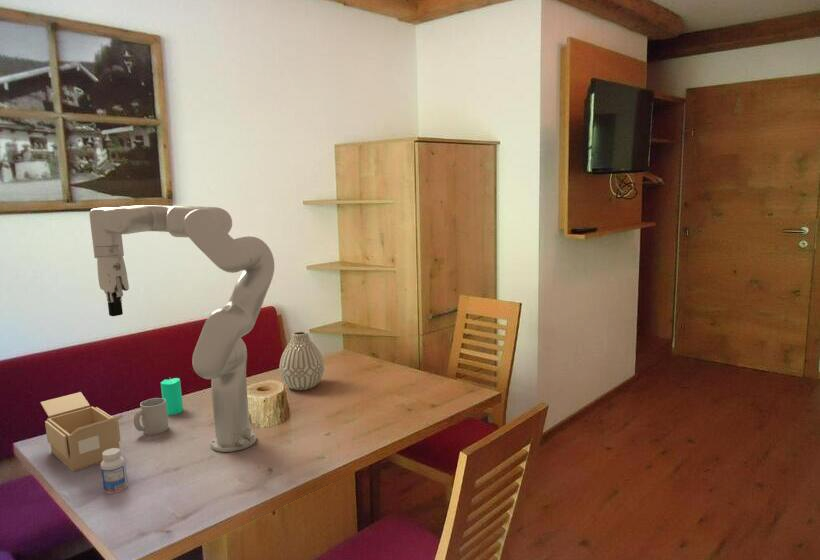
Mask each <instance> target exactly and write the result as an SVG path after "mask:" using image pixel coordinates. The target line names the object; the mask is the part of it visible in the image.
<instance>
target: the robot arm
mask: <svg viewBox="0 0 820 560" xmlns="http://www.w3.org/2000/svg"><path fill="white" fill-rule="evenodd" d="M89 222H90V231H91V238H92V239H91V240H92V246H93V247H92V248H93V255H94V259H97V262H96V263H97V264H96V265H97V277H98V278H97V279H98V284H99V285H98V286H99V289H100V290H102V291H103V292H104V294H105V295H106V296H105V297H106V301H107V308H108V315H109V316H110V317H117V316H122V315H123V313H124V312H123V303H122V300H123V299H122V297H123V296H124V293H123V291H125V292H126V291H128V290H129V289H130V285H129V280H128V279H129V278H128V273H127V267H126V262H125V260H124V256H125V253H124V252H125V251H124V245H123V235H130V234H136V233H143V232H162V233H164V232H165V233H169V235H171V236H172V237H174V238H189V239H190V240H191V242H192V243H193V244H194V245H195V246H196V247H197V248H198V249H199V250H200V251H201V252H202V253H203V254H204V255H205V256H206V257H207V258H208V259H209V261H211V262H212V263H213V264H214V265H215V266H216V267H218V268H219V269H220V270H222V271H224V272H226V273H232V274H234V273H239V272H241V271H242V272H241V275H240V276H239V278H238V280H237V281H236V283H235V285H234V288H233V291H232V293H231V296H230V298H229V300H228V302H227V303H226V304H225V305H224V306H221V307H219V308H216V309H215V310H214V311H213V312H211V313H210V314H209V315H208V317H206V318H207V319H206V320H205V322H204V324H203V326H202V329H201V332H200V335H199V338H198V340H197V342H196V345H195V347H194V350H193V353H192V358H191V361H192V368H193V371H194V372H195V373H196V375H197V376H199V377H200V378H203V379H205V380H211V382H210V385H211V388H210V389H211V398H212V399H211V400H212V410H213V411H212V412H213V413H212V414H213V421H214V424H213V425H214V434H215V436H214V437H213V438H211V440H210V448H211V449H212V450H214V451H216V452H221V453H222V452H223V453H230V452H238V451H241V450H244V449H247V448H249V447H251V446H253V445H254V444H255V443H256V442H257V434H256V433H255V432H253V431H251V427H250V426H251V424H250V423H251V422H250V412H249V402H248V401H249V400H248V398H249V397H248V386H247V363H248V362H247V361H248V352H247V351H248V349H247V345H246V343H245V342H244V340H243V338H242V337H245V336H246V335H247V334H249V333H250V332H251V331H252V330H253V328H254V327H255V324H256V321H257V319H258V316H259V314H260V312H261V309H262V306H263V304H264V301H265V298H266V295H267V293H268V290H269V288H270V286H271V283H272V280H273V278H274V274H275V259H274V255H273V252H272V251H271V248H270V247H269V246H268V244H267V243H266V242H265V241H264V240H262V239H260V238H259V237H256V236H250V235H249V236H241V237H237V238H233V237H232V236H231V235H230V234H229V233H230V231H231V230H232V227H233V218H232V216H231V214H230V213H229V212H228V211H227V210H226V209H224V208H221V207H217V206H191V205H190V206H189V205H187V206H186V205H185V206H184V205H146V204H145V205H144V204H142V205H141V204H140V205H129V206H128V205H127V206H119V207H97V208H96V207H95V208H92V209H90V211H89Z"/></svg>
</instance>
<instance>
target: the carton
mask: <svg viewBox="0 0 820 560" xmlns="http://www.w3.org/2000/svg"><path fill="white" fill-rule="evenodd" d="M110 418H114V417H113V416H112V415H111V414H108V413H107V412H106V411H104V410H103V409H101V408H99V407H98V406H96V407H95V406H89V407H86V408H82V409H78V410H75V411H71V412H67V413H64V414H60V415H56V416H52V417H48V418H46V420H45V421H44V423H45V424H44V426H45V432H46V439H47V443H49V444H50V449H51V453H52V454H53V455H54V456H55V457H56V458H57V459H58V460H59V461H61V463H63V464H64V465H65V466H66V467H67V468H69V469H70V470H71V471H72V472H76V471H81V470H83V469H85V468H89V467H92V466H94V465H95V466H96V465H97V464H101V462H102V461H103V458H102V453H103V452H104V451H105V450H108V449H111V448H119V449H120V442H121V441H122V440H121V431H120V422H119V420H118V421H116V422H114V423H111V424H108V425H104V426H101V427H98V428H94V429H91V430H87V431H84V432H81V433H77V434H74V435H72V434H71V433H72V432H73V431H75V430H76V429H77V428H79V427H83V426H86V425H89V424H93V423H96V422H100V421H103V420H107V419H110ZM120 450H121V449H120Z"/></svg>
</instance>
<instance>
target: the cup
mask: <svg viewBox="0 0 820 560" xmlns="http://www.w3.org/2000/svg"><path fill="white" fill-rule="evenodd" d="M139 406H140V409H138V410H137V411H136V412H135V413H134V416H133V425H134V428H135V429H136V430H137V431H138V432H143V433H144V434H145V435H150V436H151V435H152V436H153V435H159V434H163V433H164V432H166V431H168V429H169V419H168V418H169V417H168V416H169V415H167V407H166V400H165V399H163V398H162V397H153V398H149V399H146V400H143V401H141V402H140V404H139ZM140 418H141V423H142V424H141V423H140Z"/></svg>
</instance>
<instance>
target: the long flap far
mask: <svg viewBox="0 0 820 560" xmlns="http://www.w3.org/2000/svg"><path fill="white" fill-rule="evenodd" d="M40 405H41V407H42V408H43V410H44V412H45V413H46V415H47V416H48V418H52V417H56V416H59V415H63V414H67V413H70V412H74V411H78V410H81V409H85V408H89V407H91V405H90V403H89V402H88V400H87V399H86V397H85V396H84V395H83V393H82V392H81V391H78V392H75V393H71V394H67V395H63V396H58V397H55V398H51V399H47V400H44V401H40Z"/></svg>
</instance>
